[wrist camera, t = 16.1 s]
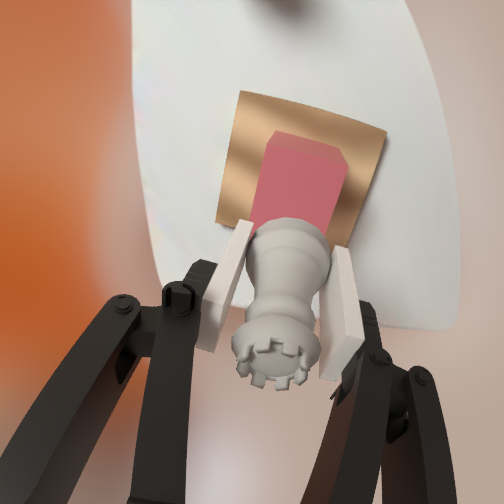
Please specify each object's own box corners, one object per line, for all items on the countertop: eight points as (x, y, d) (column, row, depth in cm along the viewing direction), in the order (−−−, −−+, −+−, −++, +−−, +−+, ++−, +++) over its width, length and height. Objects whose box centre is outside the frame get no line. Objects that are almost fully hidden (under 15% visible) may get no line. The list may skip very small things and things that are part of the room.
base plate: (242, 90, 26) (240, 90, 25) (383, 130, 25) (387, 132, 24) (218, 217, 33) (215, 222, 32) (340, 250, 33) (341, 256, 32)
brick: (275, 130, 26) (267, 143, 20) (338, 147, 26) (348, 166, 20) (257, 206, 31) (244, 239, 25) (314, 222, 30) (316, 258, 24)
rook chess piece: (347, 248, 16) (366, 368, 9) (293, 296, 18) (279, 415, 11) (283, 196, 15) (260, 299, 8) (232, 253, 17) (185, 365, 10)
